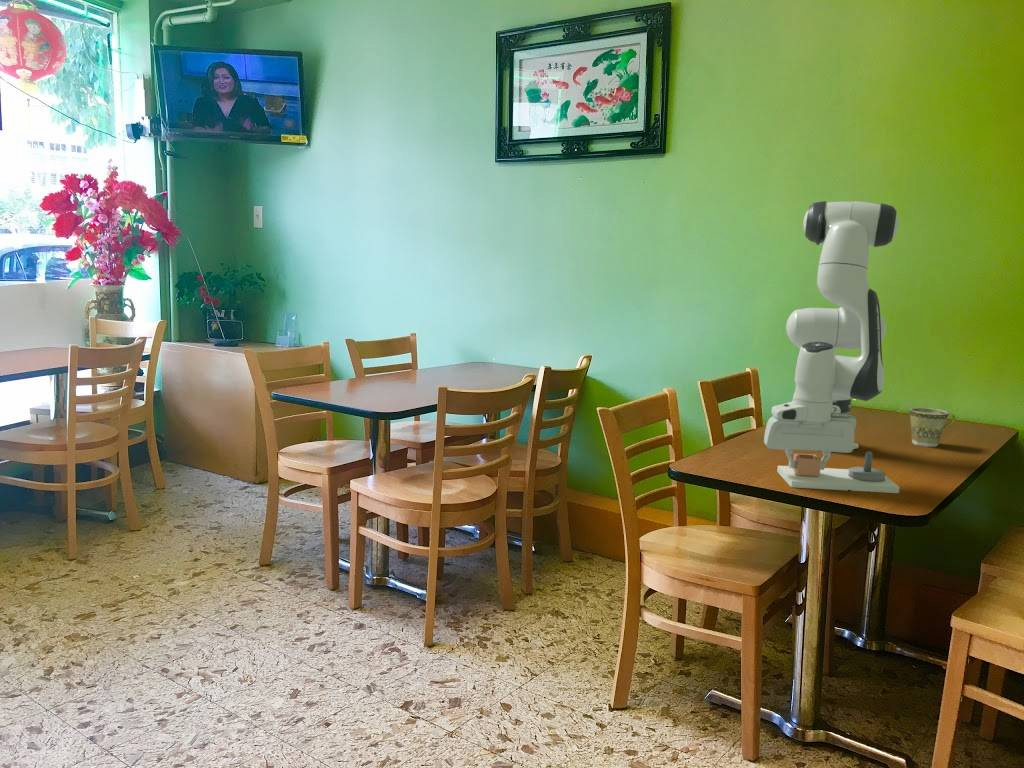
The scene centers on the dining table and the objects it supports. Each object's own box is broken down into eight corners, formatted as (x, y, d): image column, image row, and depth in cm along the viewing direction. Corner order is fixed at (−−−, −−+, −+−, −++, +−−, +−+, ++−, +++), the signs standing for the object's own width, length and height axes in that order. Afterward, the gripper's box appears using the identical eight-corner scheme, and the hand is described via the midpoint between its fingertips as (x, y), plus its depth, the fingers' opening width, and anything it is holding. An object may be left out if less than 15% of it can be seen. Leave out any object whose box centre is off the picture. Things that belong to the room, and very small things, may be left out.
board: (777, 471, 201) (779, 440, 200) (877, 476, 199) (880, 445, 198) (791, 487, 187) (794, 454, 186) (898, 493, 185) (902, 460, 184)
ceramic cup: (917, 448, 232) (921, 413, 230) (899, 440, 242) (903, 407, 240) (961, 449, 233) (965, 414, 231) (941, 440, 242) (945, 408, 241)
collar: (792, 469, 196) (794, 453, 196) (813, 470, 196) (815, 454, 195) (797, 475, 191) (799, 458, 191) (819, 476, 191) (821, 459, 190)
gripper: (852, 410, 193) (847, 467, 196) (765, 406, 195) (760, 462, 197) (861, 416, 187) (855, 474, 189) (770, 412, 189) (766, 469, 191)
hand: (806, 468), depth 193 cm, fingers closed on collar, 5 cm apart
